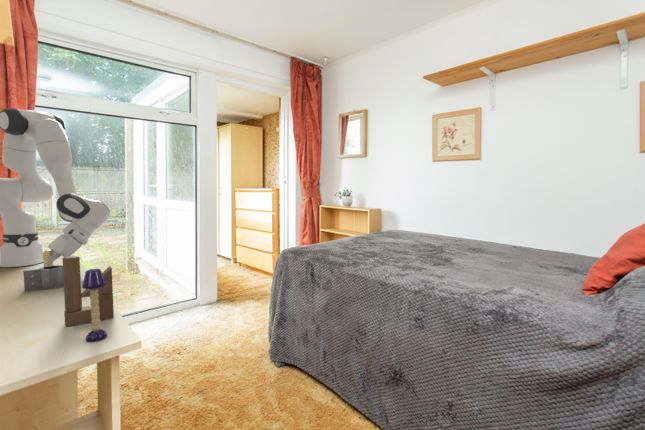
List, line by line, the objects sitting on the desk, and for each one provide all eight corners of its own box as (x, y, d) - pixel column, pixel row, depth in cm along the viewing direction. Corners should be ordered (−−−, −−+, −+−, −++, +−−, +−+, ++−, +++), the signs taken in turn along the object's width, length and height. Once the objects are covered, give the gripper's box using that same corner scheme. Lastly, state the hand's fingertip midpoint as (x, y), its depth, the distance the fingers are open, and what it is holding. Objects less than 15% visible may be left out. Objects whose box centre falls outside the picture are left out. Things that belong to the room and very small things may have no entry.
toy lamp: (80, 339, 80) (76, 270, 78) (100, 331, 84) (97, 266, 83) (93, 343, 78) (89, 273, 76) (112, 335, 82) (109, 268, 81)
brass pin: (43, 277, 131) (42, 250, 130) (53, 276, 133) (51, 249, 133) (45, 279, 129) (43, 251, 128) (54, 277, 132) (53, 250, 131)
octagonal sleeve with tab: (23, 289, 117) (21, 269, 116) (75, 280, 128) (74, 262, 127) (26, 293, 113) (25, 272, 112) (79, 283, 124) (78, 265, 123)
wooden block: (114, 318, 93) (111, 254, 91) (65, 327, 86) (61, 259, 85) (112, 314, 96) (109, 252, 94) (64, 323, 89) (61, 256, 88)
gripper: (61, 227, 142) (33, 253, 135) (75, 232, 129) (44, 261, 122) (75, 236, 146) (47, 262, 139) (89, 242, 132) (59, 271, 126)
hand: (46, 262), depth 130 cm, fingers closed on brass pin, 3 cm apart
